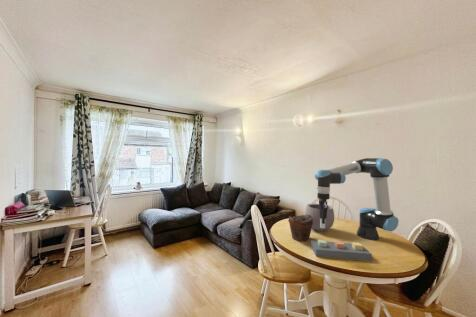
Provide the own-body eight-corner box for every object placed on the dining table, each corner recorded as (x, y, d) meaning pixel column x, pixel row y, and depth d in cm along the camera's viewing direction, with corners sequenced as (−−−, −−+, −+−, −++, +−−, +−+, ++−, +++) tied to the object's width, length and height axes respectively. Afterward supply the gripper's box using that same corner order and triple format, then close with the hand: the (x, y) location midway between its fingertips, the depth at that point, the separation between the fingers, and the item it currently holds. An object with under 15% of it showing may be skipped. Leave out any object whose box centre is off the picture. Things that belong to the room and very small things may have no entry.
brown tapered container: (283, 238, 158) (283, 215, 157) (296, 231, 172) (296, 210, 171) (304, 245, 145) (305, 220, 145) (316, 238, 159) (317, 215, 159)
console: (360, 250, 139) (361, 244, 139) (371, 261, 125) (371, 253, 125) (311, 246, 144) (311, 240, 144) (315, 256, 130) (316, 249, 130)
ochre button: (359, 248, 135) (359, 242, 135) (362, 251, 130) (362, 245, 130) (351, 247, 136) (351, 242, 136) (354, 250, 131) (354, 245, 131)
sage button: (324, 245, 138) (324, 240, 138) (326, 248, 133) (327, 243, 133) (317, 244, 139) (317, 239, 139) (319, 247, 134) (319, 242, 134)
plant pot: (304, 232, 171) (305, 197, 170) (304, 223, 193) (305, 192, 193) (335, 236, 163) (337, 199, 163) (332, 227, 186) (333, 194, 186)
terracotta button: (341, 246, 136) (342, 241, 136) (344, 249, 132) (344, 244, 132) (334, 246, 137) (334, 240, 137) (336, 249, 132) (336, 243, 132)
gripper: (315, 190, 143) (314, 224, 143) (320, 194, 129) (319, 230, 130) (326, 191, 142) (325, 224, 142) (332, 194, 128) (331, 231, 129)
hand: (322, 227), depth 136 cm, fingers closed
